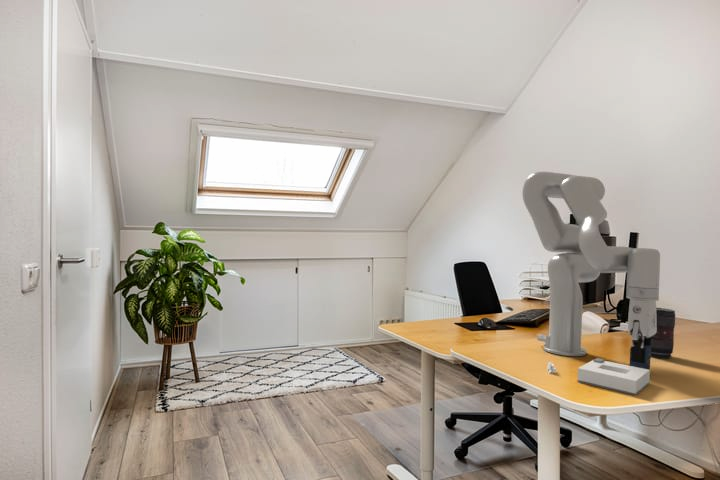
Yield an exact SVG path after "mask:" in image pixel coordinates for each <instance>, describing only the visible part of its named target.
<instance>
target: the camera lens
mask: <svg viewBox="0 0 720 480" xmlns="http://www.w3.org/2000/svg"><path fill="white" fill-rule="evenodd" d="M656 313H657V332H656V334H654V335H653V336H651V358H654V359H660V360H661V359H662V360H666V359H667V360H669V359H671V358H672V354H673V353H674V342H675V341H674V340H675V339H674V338H675V337H674V336H675V333H674V332H675V326H676V325H675V324H676V311H675V310H673V309H670V308H662V307H656Z"/></svg>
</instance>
